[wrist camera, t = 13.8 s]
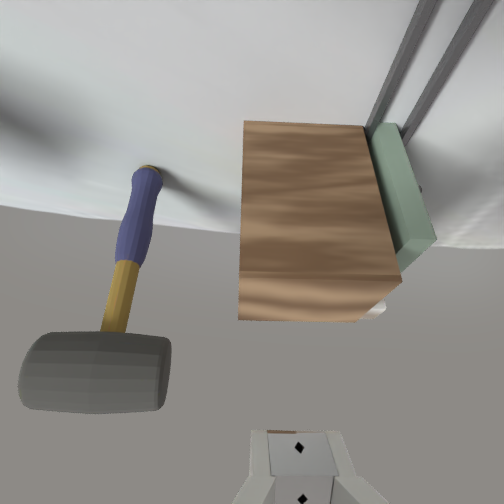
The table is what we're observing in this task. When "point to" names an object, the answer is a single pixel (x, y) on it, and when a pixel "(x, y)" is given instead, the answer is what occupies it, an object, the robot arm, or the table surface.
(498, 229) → the table surface
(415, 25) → the door track
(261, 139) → the walnut cabinet
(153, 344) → the rubber mallet
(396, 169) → the cabinet door
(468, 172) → the table surface
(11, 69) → the table surface
